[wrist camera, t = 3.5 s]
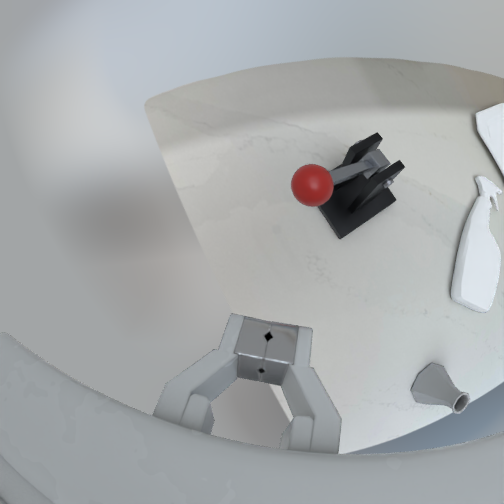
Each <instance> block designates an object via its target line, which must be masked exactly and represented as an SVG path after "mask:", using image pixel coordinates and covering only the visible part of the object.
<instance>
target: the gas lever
mask: <svg viewBox="0 0 504 504" xmlns="http://www.w3.org/2000/svg"><path fill="white" fill-rule="evenodd" d="M389 165H390V162H389V161H388V160H387V158H386V157H385V156H384V154H383V153H382V152H381V151H380V149H377V150H373V151H369V152H367V153H366V154H365V155H364V156H363V157H362V158H361V159H360V160H359V161H358V162H357V163H354V164H351V165H348V166H345V167H341V168H338V169H335V170H332V171H329V172H328V171H327V170H326V169H325V168H323V167H322V166H319V165H316V164H308V165H304V166H302V167H300V168H299V169H298V170H297V171H296V172H295V173H294V175H293V177H292V181H291V189H292V192H293V195H294V196H295V198H296V199H297V200H298V201H299V202H300V203H302V204H304V205H306V206H311V207H315V206H320V205H322V204H324V203H325V202H327V201H328V200H329V198H330V197H331V195H332V193H333V189H334V185H336V184H338V183H341V182H343V181H346V180H349V179H351V178H354V177H356V176H359V175H362V174H364V176H365V177H366V178H367V179H370V178H372V177H373V176H375V175H377V174H378V173H380V172H381V171H383V170H384V169H385V168H387V167H388V166H389Z"/></svg>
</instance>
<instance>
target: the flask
mask: <svg viewBox="0 0 504 504" xmlns="http://www.w3.org/2000/svg"><path fill="white" fill-rule="evenodd" d="M411 392H412V394H413V396H414V398H415V400H416V402H418V403H423V404H428V405H445V406H448V407H450V408H451V409H452V410H453V413H458V414H460V413H461V412H462V411H463V410H464V409H465V408H466V407H467V405H468V403H469V401H470V397H469V394H468V393H465V392H460V391H459V390H458V389H457V388H456V387H455V385H454V384H453V382H452V380H451V379H450V377H449V375H448V373H447V372H446V370H445V368H444V366H441V365H437V364H434V363H431V364H430V365H429V366H428V367H427V368H425V369H424V370H423V371H422V372H421V373H419V374H418V376H417V379H416V381H415V383H414V385H413V387H412V389H411Z"/></svg>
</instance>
